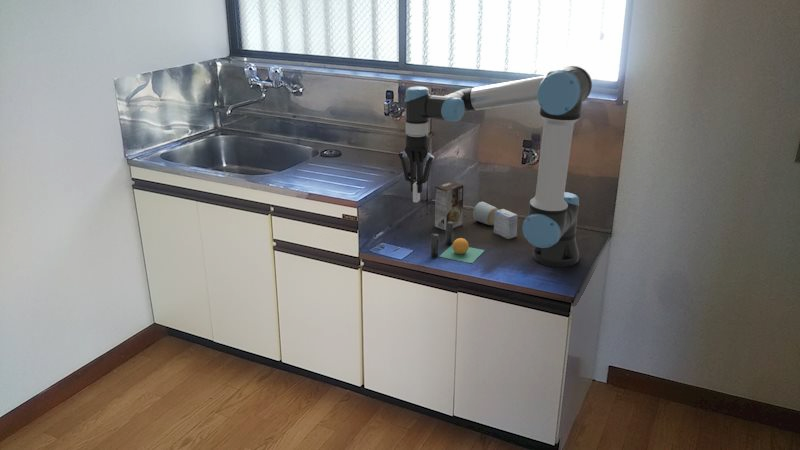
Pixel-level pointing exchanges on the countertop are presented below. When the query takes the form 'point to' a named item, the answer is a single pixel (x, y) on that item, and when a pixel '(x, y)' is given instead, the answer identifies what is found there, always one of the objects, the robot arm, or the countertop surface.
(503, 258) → the countertop surface
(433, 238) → the post
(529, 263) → the countertop surface
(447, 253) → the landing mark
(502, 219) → the medicine box
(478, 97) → the robot arm
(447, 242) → the post
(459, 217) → the coffee box
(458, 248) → the ball
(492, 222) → the white cylinder
